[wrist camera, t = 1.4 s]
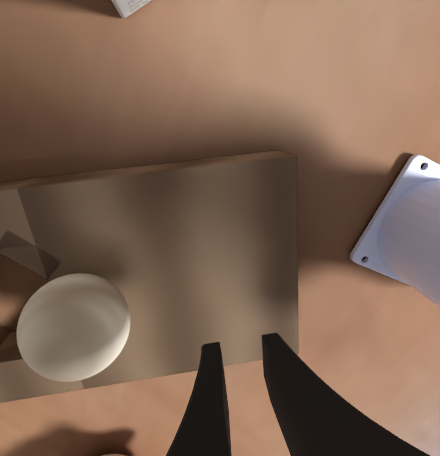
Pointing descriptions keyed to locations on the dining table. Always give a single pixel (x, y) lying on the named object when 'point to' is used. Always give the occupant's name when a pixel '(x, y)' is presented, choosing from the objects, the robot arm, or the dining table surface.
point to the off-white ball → (73, 327)
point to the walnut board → (163, 259)
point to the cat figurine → (113, 455)
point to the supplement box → (128, 6)
